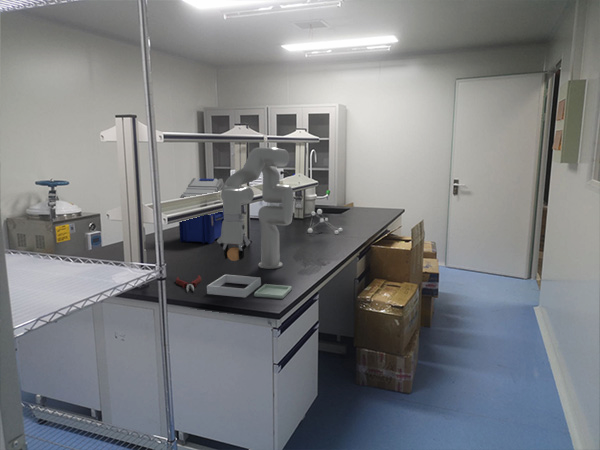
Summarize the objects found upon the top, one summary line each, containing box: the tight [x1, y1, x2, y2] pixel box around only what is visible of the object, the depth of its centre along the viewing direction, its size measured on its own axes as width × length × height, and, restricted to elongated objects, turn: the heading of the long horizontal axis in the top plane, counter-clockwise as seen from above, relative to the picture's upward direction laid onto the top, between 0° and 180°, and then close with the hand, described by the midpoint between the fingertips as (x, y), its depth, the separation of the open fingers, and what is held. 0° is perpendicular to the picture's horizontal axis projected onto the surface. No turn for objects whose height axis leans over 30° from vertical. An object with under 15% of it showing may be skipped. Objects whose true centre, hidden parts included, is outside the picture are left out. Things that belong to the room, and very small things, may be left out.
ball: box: [227, 246, 240, 262], centre depth 195 cm, size 6×6×6 cm
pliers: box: [175, 275, 202, 293], centre depth 203 cm, size 12×20×3 cm, turn 16°
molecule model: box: [307, 208, 343, 235], centre depth 321 cm, size 14×25×18 cm, turn 87°
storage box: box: [178, 177, 225, 245], centre depth 298 cm, size 29×23×40 cm
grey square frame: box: [206, 274, 262, 298], centre depth 198 cm, size 18×18×4 cm
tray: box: [253, 283, 293, 300], centre depth 193 cm, size 13×13×2 cm
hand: (234, 258), depth 196 cm, fingers closed on ball, 5 cm apart
